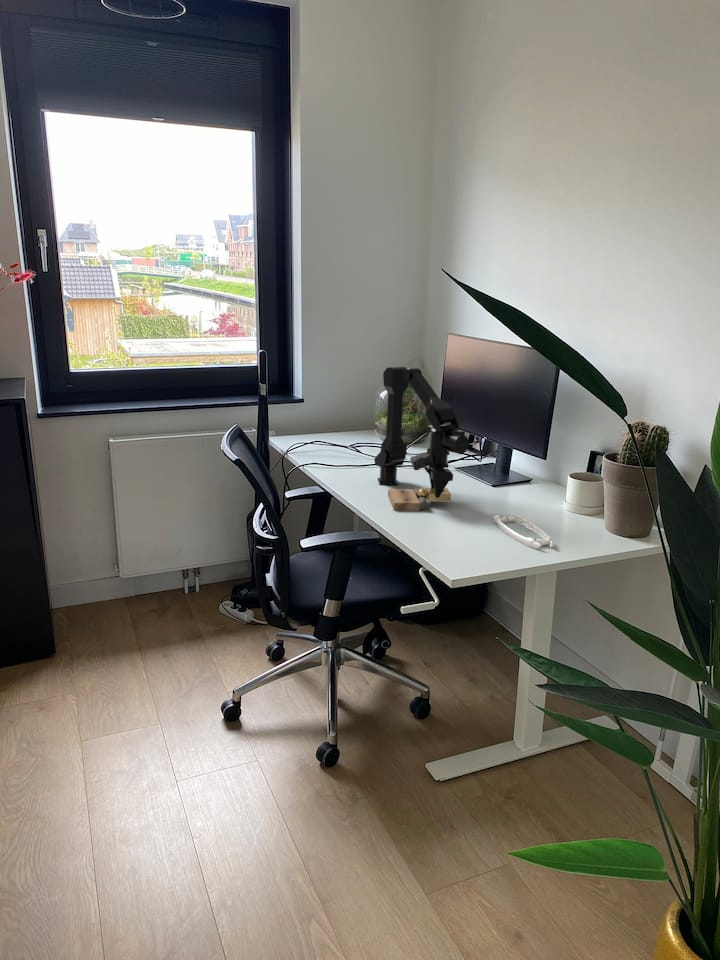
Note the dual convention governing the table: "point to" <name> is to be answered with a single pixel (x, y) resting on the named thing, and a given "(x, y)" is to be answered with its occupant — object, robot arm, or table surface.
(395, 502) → the tan flat piece
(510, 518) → the door handle
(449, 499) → the tan knobbed block
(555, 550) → the table surface
